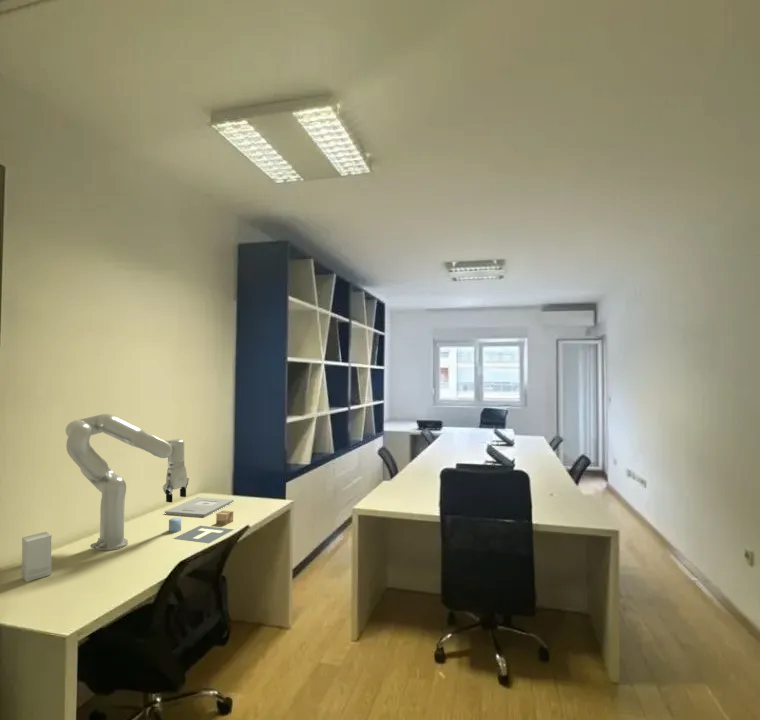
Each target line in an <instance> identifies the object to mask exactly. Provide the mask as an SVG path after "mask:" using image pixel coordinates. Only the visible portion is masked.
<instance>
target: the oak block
mask: <svg viewBox="0 0 760 720" xmlns="http://www.w3.org/2000/svg"><path fill="white" fill-rule="evenodd" d="M215 515H216V517H215V522H216V525H224V526H226V525H227V526H228V525H229V524H231V523H233V522H234V510H224V509H223V510H221V511H217V512H215Z"/></svg>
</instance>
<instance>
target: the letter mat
mask: <svg viewBox="0 0 760 720" xmlns="http://www.w3.org/2000/svg"><path fill="white" fill-rule="evenodd" d="M234 530H235V529H232V528H224V527H215V526H208V525H198V526H196V527H194V528H193V529H190V530H188V531H185V532H184V533H181V534H179V535H178V536H175V537H174V538H172V540H180V541H186V542H194V543H203V544H211V543H212V542H214V541H216V540H217V539H218V540H219V539H220V538H221V537H224V536H225V535H227V534H229V533H230V532H232V531H234Z"/></svg>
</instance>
